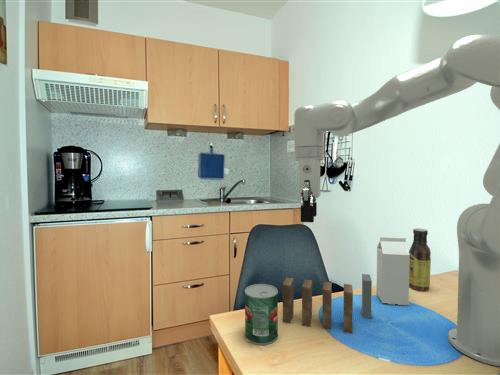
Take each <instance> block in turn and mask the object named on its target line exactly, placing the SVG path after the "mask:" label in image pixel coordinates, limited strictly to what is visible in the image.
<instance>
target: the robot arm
mask: <svg viewBox="0 0 500 375" xmlns="http://www.w3.org/2000/svg"><path fill="white" fill-rule="evenodd" d="M476 83H479V84H481V85H482V84H483V85H485V86H489V87H491V88H490V94H489V95H490V99H491V102H492V103H493V105H494V106H495V107H496V109H498V110H499V111H500V35H493V34H484V33H483V34H481V33H479V34H478V33H476V34H470V35H466V36H464V37H462V38H460V39H458V40H457V41H455V42H454V43H453V44H452V45H451V46H450V47H449V49H448V50H447V51H446V53H445V54H444V55H442V56H440V57H438V58H436V59H435V58H434V59H433V60H431V61H428V62H426V63H423V64H421V65H419V66H417V67H414V68H412V69H409V70H406V71H404V72H402V73H400V74H397V75H395V76H394V77H392V78H390V79H389V80H388V81H386V82H385V83H384V84H383V85H382V86H381V87H380V88H379V89H377V91H375V92H374V93H372V94H371V95H369V96H367V97H365V98H364V99H362V100H359V101H358V102H355V103H353V104H350V103H349V102H348V101H345V100H341V99H340V100H334V101H329V102H326V103H322V104H318V105H302V106H299V107H297V108H296V109H295V110H294V115H293V118H294V120H293V122H294V123H293V124H294V127H293V128H294V132H293V133H294V135H293V136H294V137H293V138H294V161H298V194H299V195H298V196H299V197H300V198H301V201H300V222H302V223H314V221H315V217H317V214H318V213H317V212H318V211H317V209H318V207H317V206H318V205H317V204H318V203H317V199H319V197H320V196H321V195H322V194H321V164H320V162H321V161H323V160H324V152H325V151H324V134H325V132H329V133H330V134H332V135H334V136H336V137H345V136H348V135H351V134H355V133H357V132H360V131H362V130H365V129H368V128H371V127H373V126H375V125H378V124H380V123H382V122H385V121H388V120H389V119H392V118H395V117H397V116H399V115H402V114H403V113H406V112H409V111H411V110H413V109H417V108H419V107H421V106H424V105H427V104H429V103H433V102H435V101H437V100H438V101H439V100H440V99H443V98H447V97H449V96H452V95H454V94H457V93H460V92H463V91H465V90H467V89H468V88H471V87H472V86H474V85H475V84H476ZM482 184H483V185H482V186H483V188H484V190H485V191H486V192H487V193H488V194H489V195H490V196H492V198H491V200H490V201H489V203H477V204H473V205H471V206H469V207H467V208H465V210H463V211H462V212H461V214H460V215H459V216H458V219H457V223H456V235H457V237H456V238H457V244H458V245H457V246H458V278H457V279H458V280H457V282H458V284H457V286H458V287H457V314H456V315H457V317H456V319H457V320H456V321H457V322H456V327H455V328H451V329H450V330H449V331H448V334H447V335H448V336H447V337H448V341H449V343H450V345H452V346H453V347H454V348H455V349H456V350H457V351H459V352H460V353H462V354H464V355H465V356H467V357H469V358H470V359H474V360H476V361H479V362H482V363H484V364H488V365H491V366H495V367H500V143H499V144H498V146H497V148H496V150H495V152H494V154H493V156H492V158H491V161H490V163H489V165H488V166H487V168H486V170H485V172H484V174H483V178H482Z"/></svg>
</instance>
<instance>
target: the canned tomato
mask: <svg viewBox="0 0 500 375" xmlns="http://www.w3.org/2000/svg"><path fill="white" fill-rule="evenodd" d="M278 294H279V290H278V288H277V287H276V286H274V285H271V284H268V283H255V284H252V285H249V286H246V287H245V289H244V330H245V331H244V335H245V336H244V337H245V340H246V341H247V342H249V343H251V344H253V345H258V346H266V345H271V344H273V343H274V342H276V341H277V339H278V337H279V332H278V330H279V323H278V322H279V320H278V319H279V308H278V304H279V302H278V301H279V297H278V296H279V295H278Z"/></svg>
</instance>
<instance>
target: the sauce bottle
mask: <svg viewBox="0 0 500 375" xmlns="http://www.w3.org/2000/svg"><path fill="white" fill-rule="evenodd" d="M412 230H413V231H412V233H413V240H412V244H411V246H410V247H409V249H408V251H409V254H410V260H409V288H411V289H413V290H416V291H420V292H421V291H422V292H426V291H428V290H430V285H431V265H432V264H431V260H432V258H431V255H432V254H431V249H430V247H429V246H428V241H427V239H428V235H429V232H428V229H425V228H418V227H417V228H413V229H412Z"/></svg>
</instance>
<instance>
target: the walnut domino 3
mask: <svg viewBox="0 0 500 375" xmlns="http://www.w3.org/2000/svg"><path fill="white" fill-rule="evenodd" d="M332 283H333V282H330V281H323V285H322V292H321V293H322V294H321V295H322V296H321V297H322V299H321V300H322V305H321V306H322V307H321V309H322V310H321V312H322V317H321V318H322V321H321V322H322V324H321V325H322V327H321V328H322V330H328V331H331V330H332V292H333V291H332V290H333V288H332V287H333V286H332V285H333V284H332Z"/></svg>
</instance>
